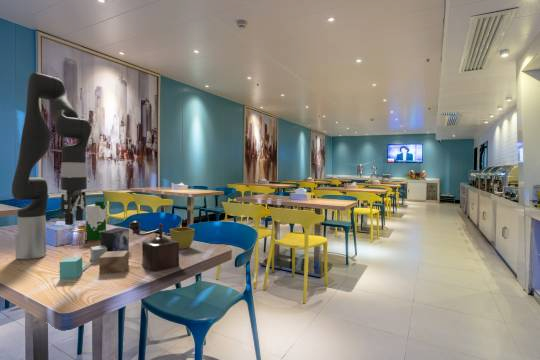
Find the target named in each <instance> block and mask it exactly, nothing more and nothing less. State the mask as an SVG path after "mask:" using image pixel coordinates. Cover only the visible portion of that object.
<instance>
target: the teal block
mask: <svg viewBox="0 0 540 360" xmlns="http://www.w3.org/2000/svg"><path fill="white" fill-rule="evenodd" d="M82 264H83V256H80V257H79V256H75V257H73V256H72V257H65V258H63V259H62V260H60V261H59V271H60V272H59V280H76V279H75V278H77V277H78V278H79V277H80V276H82V275H83V271H82ZM78 278H77V279H78Z"/></svg>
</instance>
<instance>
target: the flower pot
mask: <svg viewBox="0 0 540 360" xmlns="http://www.w3.org/2000/svg"><path fill="white" fill-rule="evenodd" d="M195 231H196V230H195V228H191V227H187V226H182V227H174V228H169V234H170V239H171V240H173V241H176V242H179V250H182V249H188V248H190V247H191V246H192V244H193V242H194V237H195Z"/></svg>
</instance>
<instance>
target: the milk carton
mask: <svg viewBox="0 0 540 360" xmlns="http://www.w3.org/2000/svg"><path fill="white" fill-rule="evenodd" d="M94 203H95V204H88V205H87V204H86V207H84V211H85V233H86V232H87V240H86V241H101V232H102V231H107V210H108V209H107V208H108V204H105V201H104V200H95V202H94Z"/></svg>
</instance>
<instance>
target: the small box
mask: <svg viewBox="0 0 540 360" xmlns="http://www.w3.org/2000/svg"><path fill="white" fill-rule="evenodd" d="M129 233H130V228H124V227H115V228H110V229H108V230H107V229H106V231H102V232H101V240H100V246H102V245H104V246H105V247H106V248H107V252H109V251H129V249H130V248H129V247H130V246H129V245H130V244H129V242H130V241H129V240H130V234H129Z"/></svg>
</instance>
